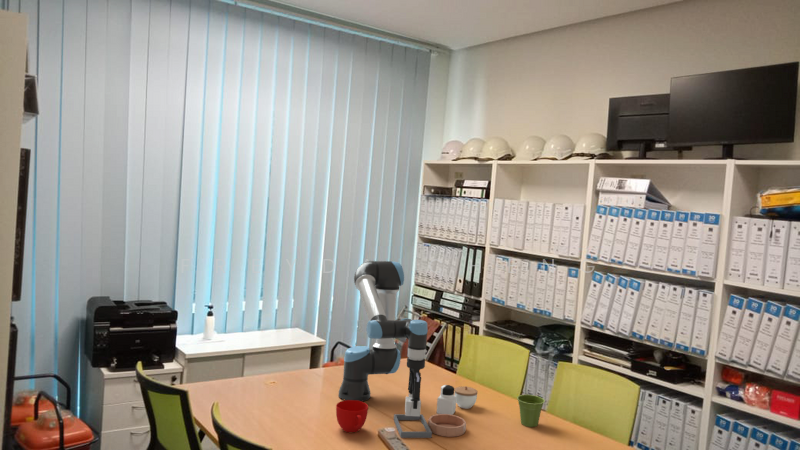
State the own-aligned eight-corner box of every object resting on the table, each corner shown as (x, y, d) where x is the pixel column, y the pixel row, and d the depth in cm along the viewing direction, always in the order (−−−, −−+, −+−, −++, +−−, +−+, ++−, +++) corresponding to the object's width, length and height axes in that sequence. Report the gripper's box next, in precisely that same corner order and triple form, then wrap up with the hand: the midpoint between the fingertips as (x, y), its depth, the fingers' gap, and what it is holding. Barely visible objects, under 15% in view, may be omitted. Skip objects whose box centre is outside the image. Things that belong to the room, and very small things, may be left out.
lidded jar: (475, 411, 267) (476, 391, 267) (452, 408, 269) (453, 388, 269) (477, 404, 278) (478, 384, 277) (454, 401, 280) (456, 381, 279)
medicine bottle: (455, 411, 266) (457, 385, 266) (451, 416, 259) (453, 389, 259) (440, 408, 268) (442, 382, 268) (436, 413, 262) (438, 387, 261)
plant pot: (513, 418, 261) (515, 393, 261) (539, 420, 261) (541, 395, 261) (517, 428, 250) (519, 402, 249) (545, 430, 249) (547, 404, 249)
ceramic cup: (343, 441, 225) (345, 416, 225) (330, 425, 240) (332, 401, 240) (374, 438, 230) (376, 413, 230) (360, 422, 246) (361, 398, 245)
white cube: (420, 416, 240) (421, 402, 240) (405, 415, 240) (406, 401, 239) (418, 411, 246) (419, 397, 246) (404, 410, 246) (405, 396, 245)
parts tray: (400, 437, 232) (400, 432, 232) (393, 419, 251) (393, 414, 251) (431, 437, 234) (431, 432, 234) (422, 419, 253) (422, 414, 253)
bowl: (432, 436, 235) (433, 427, 235) (425, 422, 250) (425, 413, 250) (469, 436, 237) (469, 427, 237) (459, 422, 252) (460, 414, 252)
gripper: (429, 365, 233) (425, 421, 234) (420, 351, 252) (417, 404, 253) (411, 364, 232) (407, 421, 233) (403, 351, 251) (400, 403, 252)
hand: (412, 412), depth 243 cm, fingers closed on white cube, 6 cm apart
